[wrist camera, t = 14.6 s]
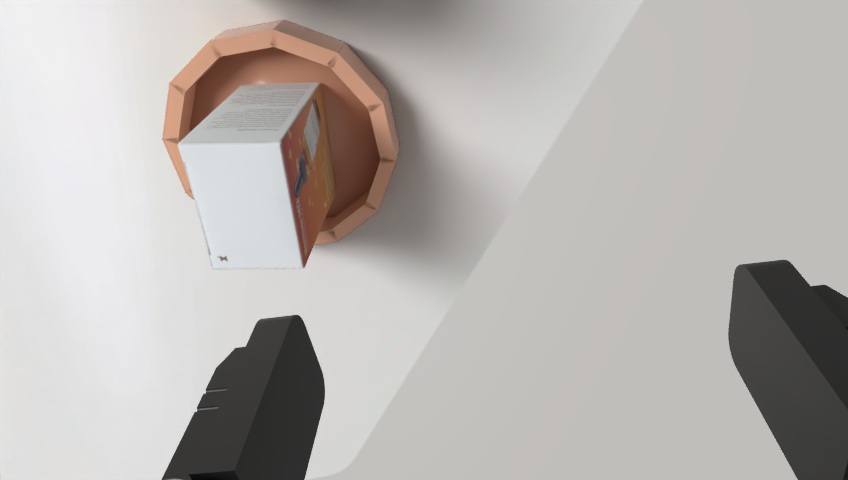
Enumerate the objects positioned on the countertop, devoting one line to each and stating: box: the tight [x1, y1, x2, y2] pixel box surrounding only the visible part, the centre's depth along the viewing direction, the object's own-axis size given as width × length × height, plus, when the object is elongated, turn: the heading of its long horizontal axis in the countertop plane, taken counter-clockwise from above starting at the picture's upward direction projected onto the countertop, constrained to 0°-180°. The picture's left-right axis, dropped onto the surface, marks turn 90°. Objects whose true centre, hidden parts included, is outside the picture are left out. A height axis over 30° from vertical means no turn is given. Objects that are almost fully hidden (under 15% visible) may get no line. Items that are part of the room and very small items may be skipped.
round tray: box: [162, 20, 400, 245], centre depth 41 cm, size 15×15×3 cm
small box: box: [178, 83, 337, 269], centre depth 37 cm, size 8×6×10 cm
